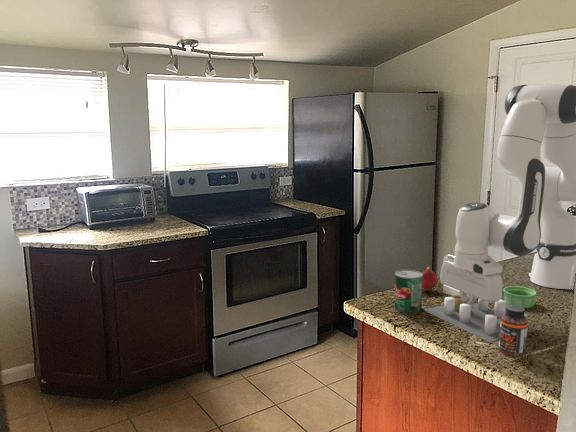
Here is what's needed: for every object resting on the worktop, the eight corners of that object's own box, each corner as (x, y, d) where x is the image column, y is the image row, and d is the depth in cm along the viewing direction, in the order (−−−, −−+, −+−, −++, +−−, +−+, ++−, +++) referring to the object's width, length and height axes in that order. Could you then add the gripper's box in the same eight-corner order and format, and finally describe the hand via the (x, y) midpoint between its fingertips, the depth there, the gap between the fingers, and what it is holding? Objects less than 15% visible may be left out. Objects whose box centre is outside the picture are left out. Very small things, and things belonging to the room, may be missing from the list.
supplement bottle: (494, 352, 124) (497, 307, 122) (504, 345, 128) (507, 301, 126) (519, 360, 120) (523, 314, 118) (529, 352, 124) (533, 307, 122)
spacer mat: (466, 301, 158) (467, 286, 158) (536, 330, 136) (538, 313, 135) (422, 310, 151) (423, 294, 150) (489, 343, 129) (490, 325, 128)
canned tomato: (425, 308, 154) (426, 272, 152) (415, 316, 147) (417, 279, 145) (400, 302, 158) (401, 268, 156) (389, 311, 152) (390, 274, 150)
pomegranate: (437, 294, 165) (438, 270, 163) (418, 293, 166) (419, 269, 164) (436, 288, 170) (437, 265, 169) (417, 287, 172) (418, 264, 170)
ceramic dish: (464, 288, 171) (464, 280, 170) (486, 296, 162) (486, 288, 162) (442, 292, 167) (443, 285, 166) (463, 301, 159) (464, 293, 158)
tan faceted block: (458, 305, 154) (459, 293, 154) (468, 309, 151) (469, 297, 150) (447, 307, 152) (447, 296, 152) (456, 312, 149) (457, 300, 148)
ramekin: (535, 311, 150) (536, 297, 149) (501, 307, 153) (502, 293, 153) (535, 301, 158) (536, 288, 157) (503, 298, 161) (504, 284, 161)
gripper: (436, 253, 153) (434, 298, 156) (490, 271, 135) (487, 321, 138) (452, 251, 156) (450, 295, 159) (507, 268, 138) (504, 317, 141)
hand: (467, 307), depth 148 cm, fingers closed
